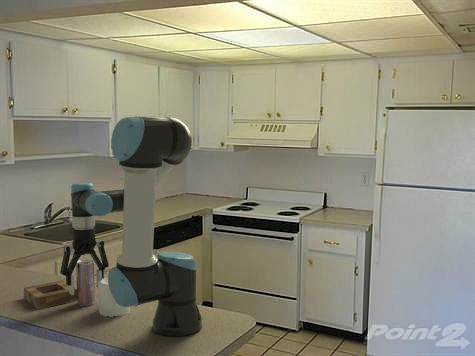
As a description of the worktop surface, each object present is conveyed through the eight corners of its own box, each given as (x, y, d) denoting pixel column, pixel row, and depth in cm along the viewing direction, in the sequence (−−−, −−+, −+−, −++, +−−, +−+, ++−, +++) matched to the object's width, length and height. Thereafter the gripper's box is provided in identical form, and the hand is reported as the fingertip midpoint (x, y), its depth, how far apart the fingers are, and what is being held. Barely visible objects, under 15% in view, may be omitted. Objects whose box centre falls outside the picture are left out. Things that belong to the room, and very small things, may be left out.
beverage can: (88, 299, 184) (87, 258, 182) (98, 303, 180) (97, 261, 179) (73, 303, 179) (72, 261, 178) (83, 307, 176) (82, 265, 174)
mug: (96, 304, 179) (96, 274, 178) (126, 301, 182) (125, 271, 181) (100, 318, 166) (99, 286, 165) (132, 314, 170) (131, 283, 169)
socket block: (77, 300, 183) (77, 289, 182) (37, 309, 174) (37, 297, 174) (62, 290, 194) (62, 280, 193) (24, 298, 185) (23, 287, 184)
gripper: (108, 222, 187) (110, 282, 189) (47, 230, 173) (50, 294, 175) (118, 225, 181) (119, 287, 183) (56, 233, 167) (58, 300, 169)
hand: (85, 290), depth 179 cm, fingers open, 9 cm apart
